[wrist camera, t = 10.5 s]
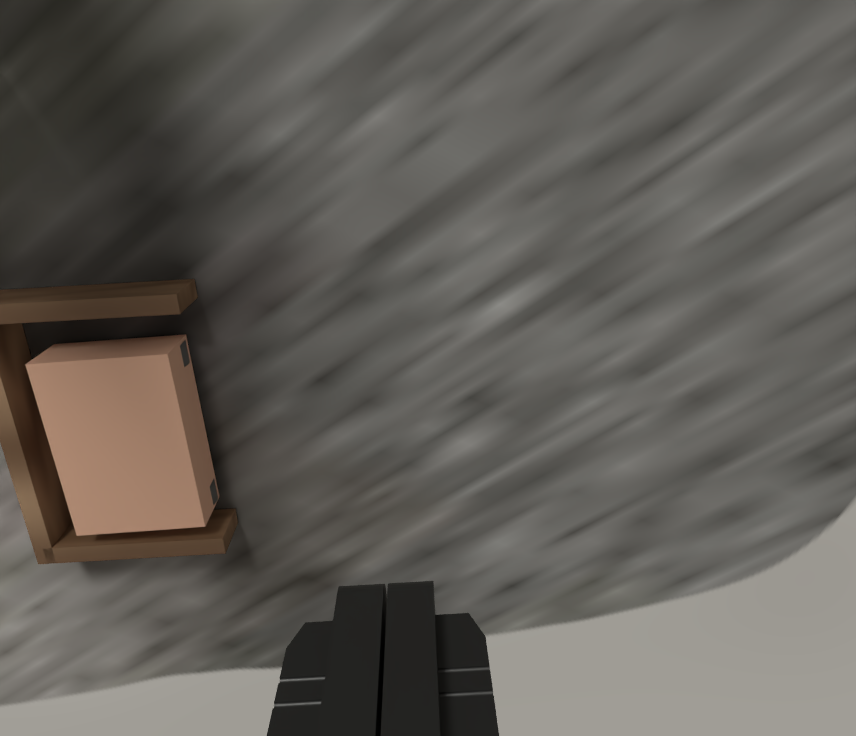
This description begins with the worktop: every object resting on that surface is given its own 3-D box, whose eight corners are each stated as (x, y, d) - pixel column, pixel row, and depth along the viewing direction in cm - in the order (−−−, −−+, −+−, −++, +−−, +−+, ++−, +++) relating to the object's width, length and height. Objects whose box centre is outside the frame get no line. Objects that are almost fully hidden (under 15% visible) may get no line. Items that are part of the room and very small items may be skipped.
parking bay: (-7, 290, 36) (-42, 306, 34) (194, 278, 36) (176, 294, 34) (62, 532, 42) (38, 564, 39) (237, 522, 42) (225, 553, 39)
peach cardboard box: (56, 340, 38) (23, 364, 34) (190, 331, 37) (169, 354, 34) (101, 500, 41) (74, 535, 38) (223, 492, 41) (207, 526, 38)
